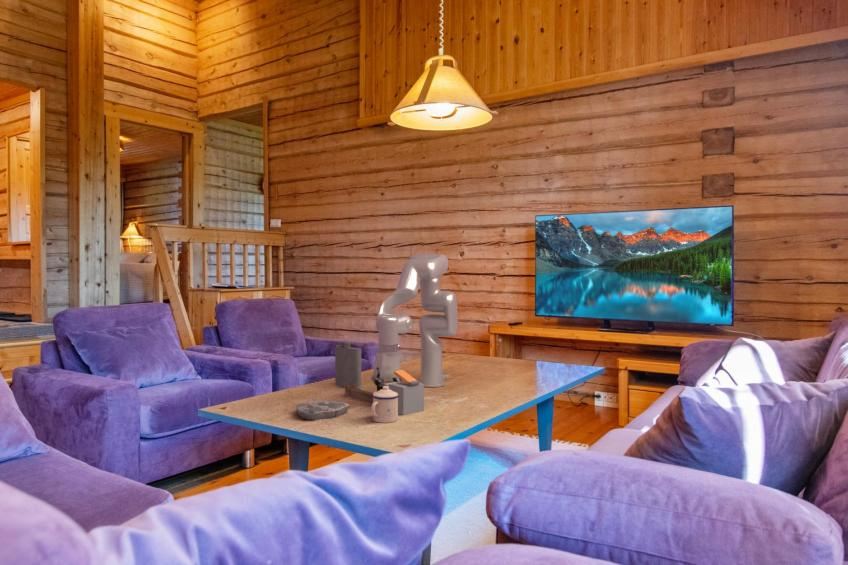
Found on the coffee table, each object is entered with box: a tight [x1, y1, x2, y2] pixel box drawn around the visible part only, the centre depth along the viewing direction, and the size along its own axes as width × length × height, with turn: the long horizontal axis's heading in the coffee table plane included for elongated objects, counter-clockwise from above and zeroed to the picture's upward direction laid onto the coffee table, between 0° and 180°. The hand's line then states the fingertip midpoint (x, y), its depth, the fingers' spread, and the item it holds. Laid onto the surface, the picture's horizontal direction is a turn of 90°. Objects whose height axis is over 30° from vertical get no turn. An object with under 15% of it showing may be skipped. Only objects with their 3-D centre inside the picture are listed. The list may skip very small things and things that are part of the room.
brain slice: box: [295, 400, 351, 421], centre depth 212 cm, size 20×17×3 cm
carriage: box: [382, 379, 398, 389], centre depth 225 cm, size 6×6×8 cm
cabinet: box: [389, 381, 425, 416], centre depth 218 cm, size 10×8×10 cm
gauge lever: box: [394, 369, 420, 386], centre depth 218 cm, size 4×10×2 cm, turn 44°
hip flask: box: [334, 340, 362, 390], centre depth 259 cm, size 16×4×20 cm, turn 47°
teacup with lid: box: [370, 386, 399, 424], centre depth 204 cm, size 12×9×12 cm
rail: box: [344, 384, 374, 404], centre depth 232 cm, size 5×30×4 cm, turn 44°
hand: (387, 394), depth 225 cm, fingers open, 7 cm apart
